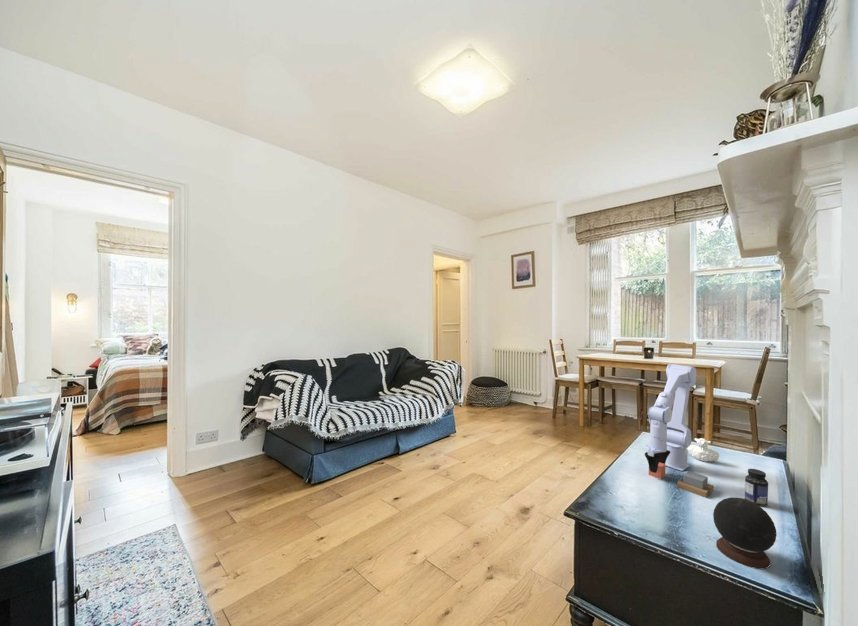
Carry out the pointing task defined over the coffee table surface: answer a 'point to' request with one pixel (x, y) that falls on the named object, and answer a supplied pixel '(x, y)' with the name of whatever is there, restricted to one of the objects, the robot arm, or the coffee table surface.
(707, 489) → the tower base
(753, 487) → the pill bottle
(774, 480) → the coffee table surface
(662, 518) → the coffee table surface
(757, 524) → the black and brown oval
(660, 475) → the stack block
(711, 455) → the white lumpy piece
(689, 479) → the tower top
